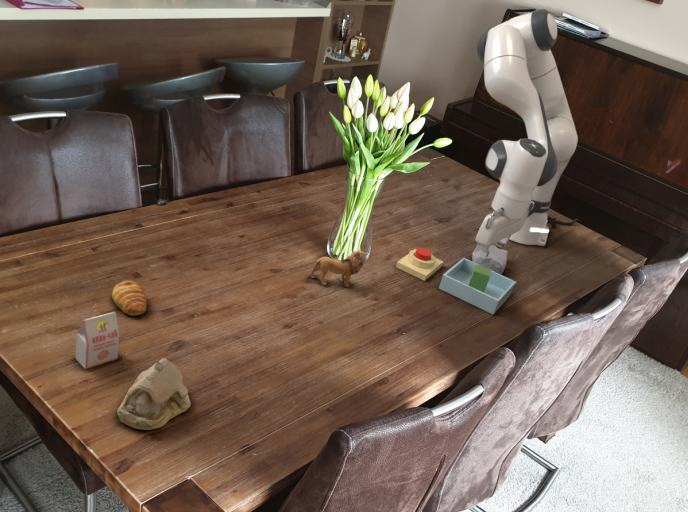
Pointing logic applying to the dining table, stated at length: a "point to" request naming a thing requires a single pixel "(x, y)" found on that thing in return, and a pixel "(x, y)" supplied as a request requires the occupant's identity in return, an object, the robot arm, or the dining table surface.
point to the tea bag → (97, 340)
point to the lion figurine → (339, 266)
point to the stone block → (491, 258)
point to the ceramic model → (155, 397)
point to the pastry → (129, 298)
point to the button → (423, 254)
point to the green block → (480, 278)
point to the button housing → (419, 265)
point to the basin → (489, 301)
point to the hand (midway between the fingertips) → (491, 252)
